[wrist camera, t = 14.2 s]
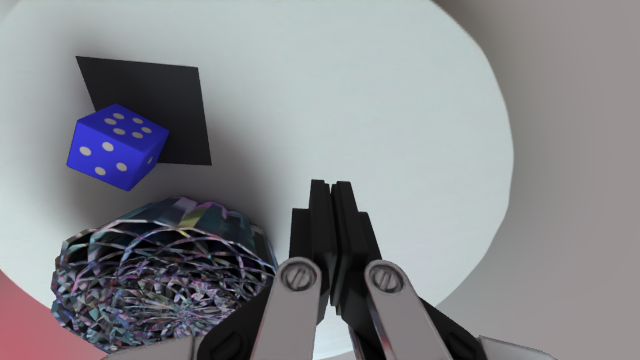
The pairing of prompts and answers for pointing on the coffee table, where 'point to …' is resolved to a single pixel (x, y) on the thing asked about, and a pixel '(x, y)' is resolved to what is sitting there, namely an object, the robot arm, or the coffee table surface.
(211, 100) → the coffee table surface
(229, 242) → the decorative bowl
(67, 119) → the coffee table surface
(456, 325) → the robot arm
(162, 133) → the die
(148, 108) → the pad
